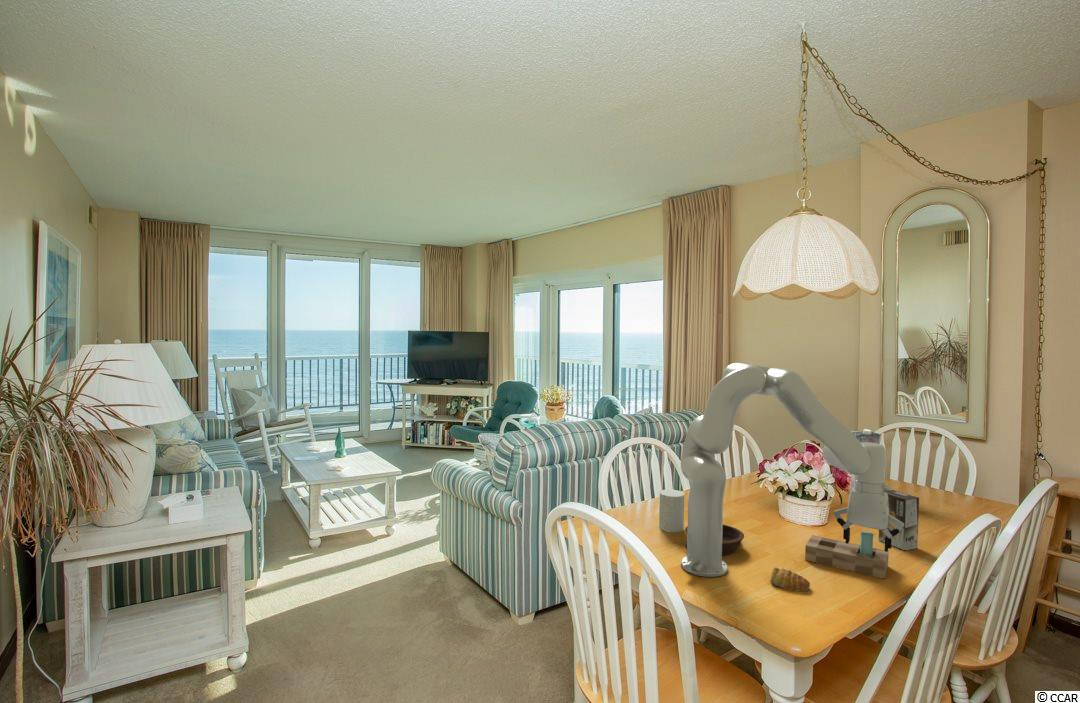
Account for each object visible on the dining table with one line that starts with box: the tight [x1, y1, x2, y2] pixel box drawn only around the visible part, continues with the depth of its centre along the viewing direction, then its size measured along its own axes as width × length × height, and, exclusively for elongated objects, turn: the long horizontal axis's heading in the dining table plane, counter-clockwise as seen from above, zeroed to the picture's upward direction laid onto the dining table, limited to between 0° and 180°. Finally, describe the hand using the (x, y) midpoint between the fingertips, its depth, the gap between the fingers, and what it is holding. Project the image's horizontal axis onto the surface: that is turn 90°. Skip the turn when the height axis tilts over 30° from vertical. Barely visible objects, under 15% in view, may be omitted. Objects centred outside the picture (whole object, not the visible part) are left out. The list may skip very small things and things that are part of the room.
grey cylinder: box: [658, 488, 685, 533], centre depth 189 cm, size 8×8×12 cm
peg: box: [859, 530, 874, 556], centre depth 159 cm, size 3×3×10 cm
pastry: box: [769, 567, 811, 592], centre depth 148 cm, size 9×7×4 cm
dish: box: [684, 524, 745, 556], centre depth 174 cm, size 18×22×5 cm
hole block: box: [804, 534, 889, 579], centre depth 162 cm, size 10×20×4 cm, turn 54°
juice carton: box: [847, 428, 881, 494], centre depth 229 cm, size 9×10×27 cm
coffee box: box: [878, 489, 920, 551], centre depth 176 cm, size 9×6×16 cm
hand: (866, 546), depth 159 cm, fingers open, 9 cm apart
